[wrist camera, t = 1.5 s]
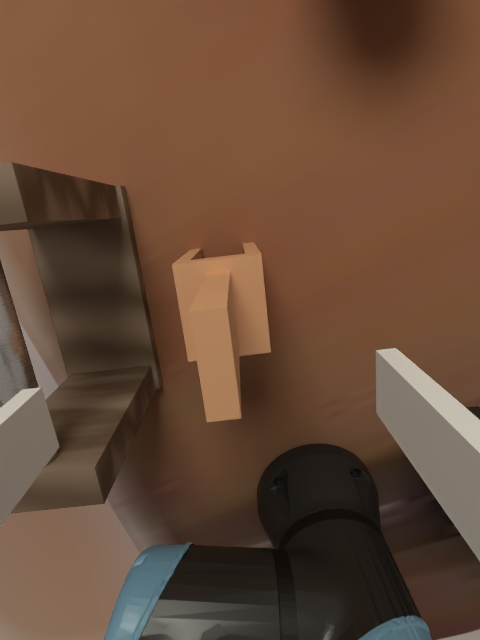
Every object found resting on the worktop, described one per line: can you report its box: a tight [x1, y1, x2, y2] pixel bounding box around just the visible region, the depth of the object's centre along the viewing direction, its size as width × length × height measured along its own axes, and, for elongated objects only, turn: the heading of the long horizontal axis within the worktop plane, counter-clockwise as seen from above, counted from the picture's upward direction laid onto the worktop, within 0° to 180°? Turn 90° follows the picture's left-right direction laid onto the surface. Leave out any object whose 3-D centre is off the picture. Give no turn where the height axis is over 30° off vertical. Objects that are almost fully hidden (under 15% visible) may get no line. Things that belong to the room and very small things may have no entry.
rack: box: [0, 162, 163, 513], centre depth 31 cm, size 22×10×18 cm, turn 7°
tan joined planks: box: [172, 242, 271, 422], centre depth 29 cm, size 8×7×23 cm
